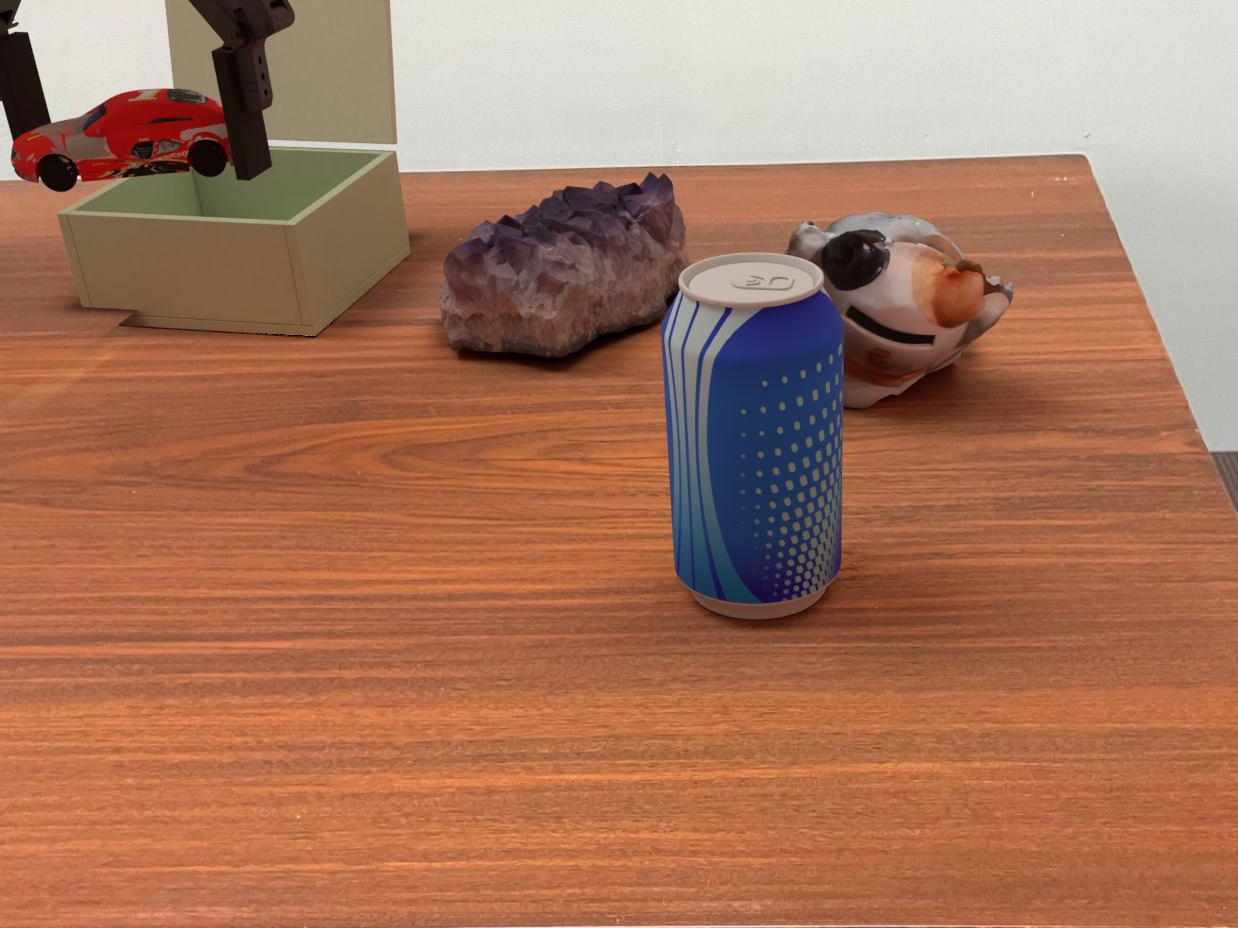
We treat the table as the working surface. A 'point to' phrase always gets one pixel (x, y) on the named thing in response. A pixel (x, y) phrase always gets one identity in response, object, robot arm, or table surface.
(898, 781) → the table surface
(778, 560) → the beer can
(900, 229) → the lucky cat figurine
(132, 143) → the race car
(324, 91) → the chest lid
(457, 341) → the geode
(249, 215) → the chest
